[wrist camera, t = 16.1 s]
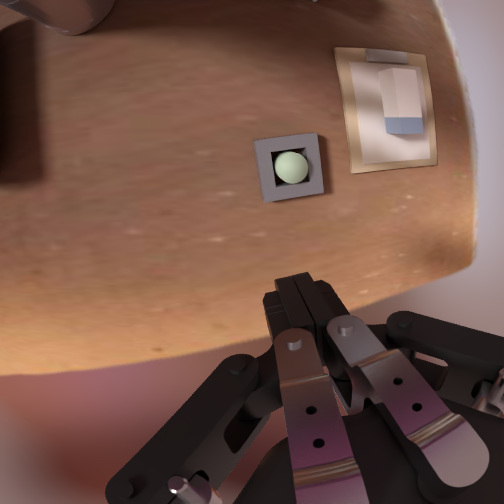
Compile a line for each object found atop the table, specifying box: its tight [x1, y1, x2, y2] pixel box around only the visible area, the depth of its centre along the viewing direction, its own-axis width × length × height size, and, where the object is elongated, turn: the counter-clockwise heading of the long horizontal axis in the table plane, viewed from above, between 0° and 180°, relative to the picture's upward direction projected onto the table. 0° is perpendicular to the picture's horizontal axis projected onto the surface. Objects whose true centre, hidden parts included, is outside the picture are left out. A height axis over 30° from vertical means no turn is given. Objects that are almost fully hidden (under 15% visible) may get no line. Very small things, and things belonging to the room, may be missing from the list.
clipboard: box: [333, 47, 437, 173], centre depth 32 cm, size 16×14×1 cm
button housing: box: [253, 132, 324, 202], centre depth 33 cm, size 7×7×2 cm
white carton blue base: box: [378, 68, 423, 134], centre depth 30 cm, size 8×4×4 cm, turn 9°
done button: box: [273, 151, 308, 184], centre depth 33 cm, size 3×3×3 cm
